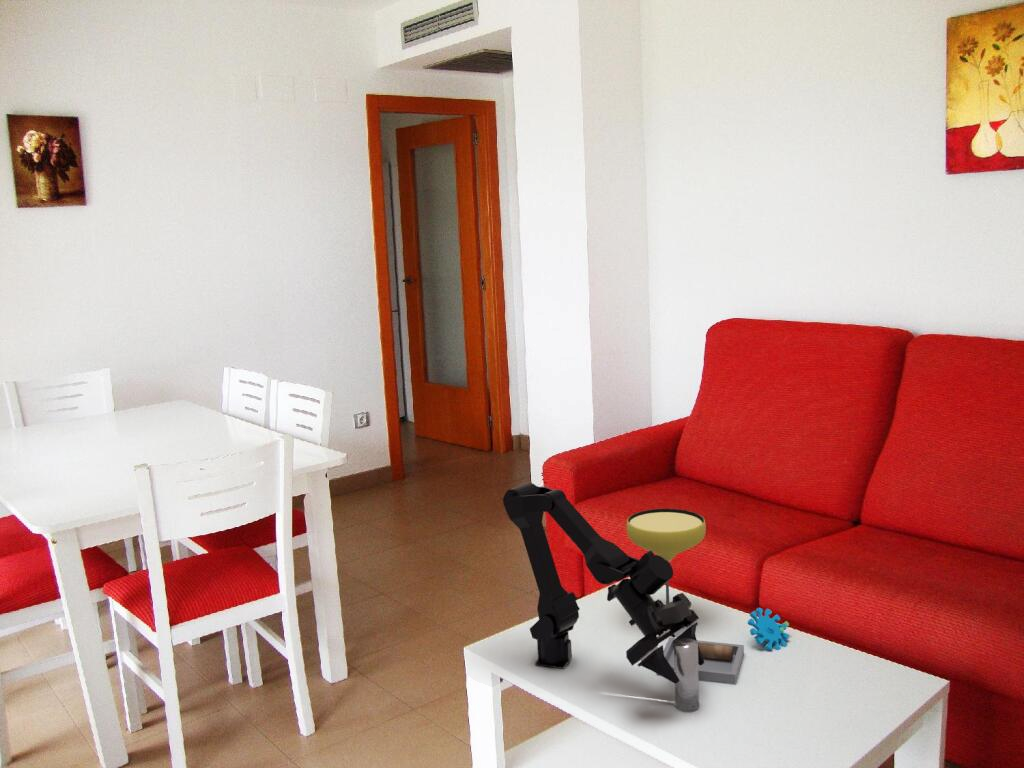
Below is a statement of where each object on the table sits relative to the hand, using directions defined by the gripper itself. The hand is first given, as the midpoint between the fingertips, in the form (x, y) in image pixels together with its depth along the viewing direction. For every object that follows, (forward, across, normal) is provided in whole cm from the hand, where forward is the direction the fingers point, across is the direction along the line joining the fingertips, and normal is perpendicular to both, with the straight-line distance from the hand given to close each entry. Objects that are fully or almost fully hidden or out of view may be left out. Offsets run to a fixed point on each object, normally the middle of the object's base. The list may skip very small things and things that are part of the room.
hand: (690, 673), depth 183 cm
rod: (0, +20, +9) cm, 22 cm away
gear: (+5, +34, +5) cm, 35 cm away
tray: (0, +16, +10) cm, 19 cm away
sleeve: (+4, 0, +6) cm, 7 cm away
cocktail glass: (-12, +31, +23) cm, 41 cm away
